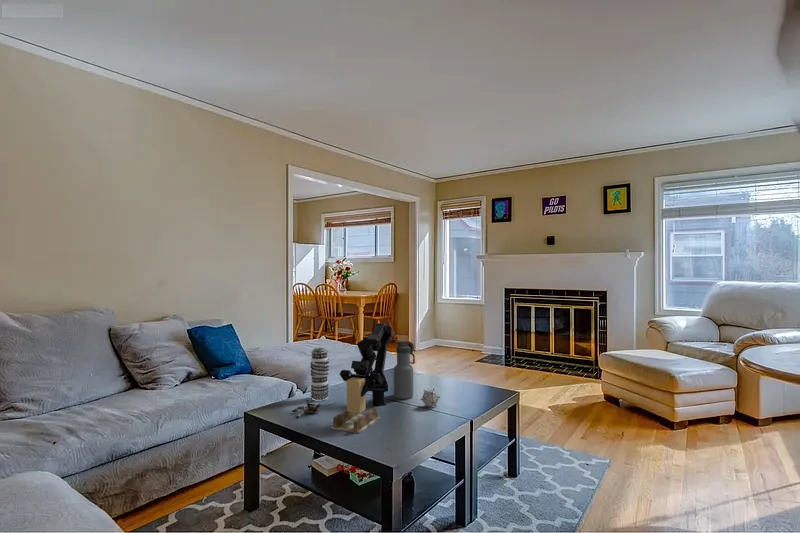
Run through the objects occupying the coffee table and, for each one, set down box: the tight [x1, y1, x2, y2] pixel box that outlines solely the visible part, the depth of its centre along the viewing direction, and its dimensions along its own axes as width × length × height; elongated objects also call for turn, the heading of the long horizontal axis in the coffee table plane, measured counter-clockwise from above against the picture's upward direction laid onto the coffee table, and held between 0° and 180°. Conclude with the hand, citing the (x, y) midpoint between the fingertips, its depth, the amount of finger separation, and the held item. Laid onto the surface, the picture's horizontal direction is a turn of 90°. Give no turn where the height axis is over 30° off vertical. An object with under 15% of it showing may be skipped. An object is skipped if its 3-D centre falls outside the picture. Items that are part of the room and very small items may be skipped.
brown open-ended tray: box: [330, 406, 380, 434], centre depth 180 cm, size 18×13×5 cm
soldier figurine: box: [291, 399, 322, 419], centre depth 191 cm, size 8×11×12 cm
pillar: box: [346, 377, 367, 414], centre depth 180 cm, size 5×6×13 cm
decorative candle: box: [309, 347, 330, 400], centre depth 215 cm, size 9×9×25 cm
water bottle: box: [393, 339, 416, 400], centre depth 218 cm, size 10×10×28 cm
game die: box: [419, 388, 441, 409], centre depth 201 cm, size 9×8×10 cm
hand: (354, 395), depth 179 cm, fingers closed on pillar, 6 cm apart
